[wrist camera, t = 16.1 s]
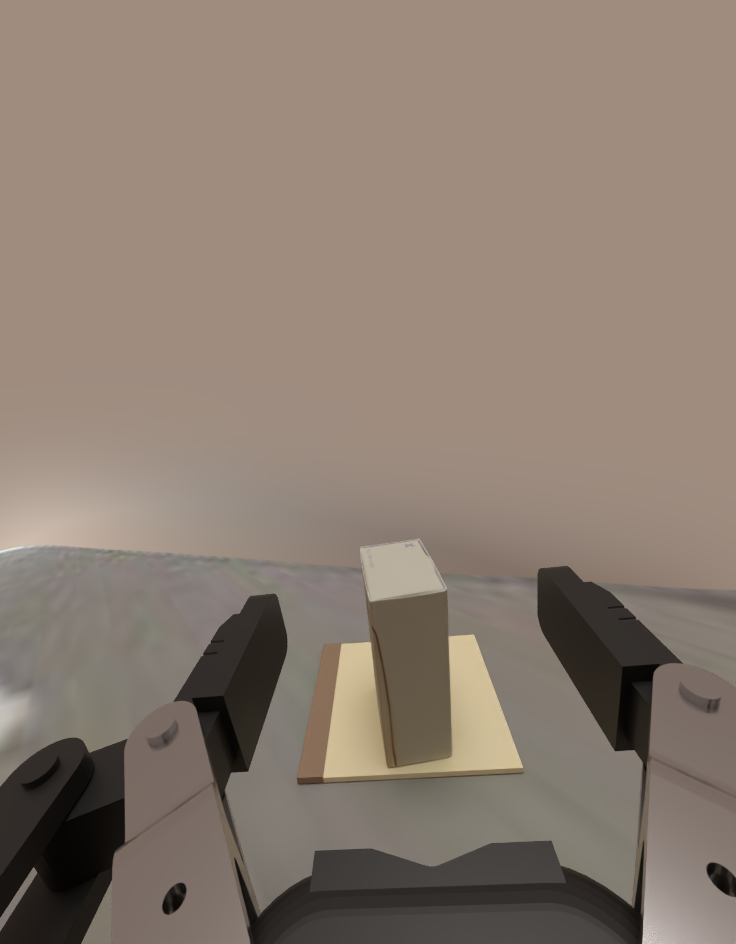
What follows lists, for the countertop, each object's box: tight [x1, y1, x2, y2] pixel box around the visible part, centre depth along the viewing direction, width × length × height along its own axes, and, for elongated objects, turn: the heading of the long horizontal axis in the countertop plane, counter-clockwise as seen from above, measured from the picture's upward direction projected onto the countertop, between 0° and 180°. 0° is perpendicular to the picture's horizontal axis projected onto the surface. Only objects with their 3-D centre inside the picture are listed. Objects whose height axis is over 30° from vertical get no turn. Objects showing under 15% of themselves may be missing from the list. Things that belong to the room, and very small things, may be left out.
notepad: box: [297, 635, 523, 784], centre depth 26 cm, size 14×11×1 cm
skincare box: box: [360, 539, 452, 767], centre depth 23 cm, size 6×4×12 cm
